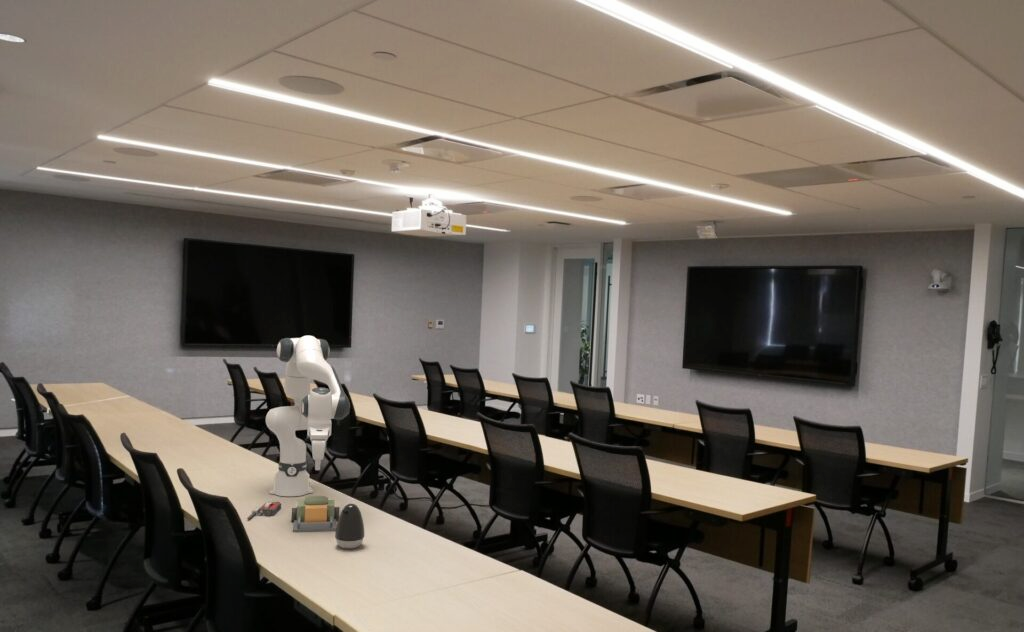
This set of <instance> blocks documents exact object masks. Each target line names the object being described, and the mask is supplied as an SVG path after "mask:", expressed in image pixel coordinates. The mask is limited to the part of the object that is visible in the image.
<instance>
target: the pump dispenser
mask: <svg viewBox="0 0 1024 632" xmlns="http://www.w3.org/2000/svg"><path fill="white" fill-rule="evenodd" d="M363 519H364V518H363V516H362V512H361V510H360V508H359V507H358V505H357V504H355V503H347V504H346V505H344V507H343V508H342V510H341V512H340V513H339V519H338V520H337V527H336V531H334V533H335V534H334V537H335V542H336V543H337V545H338V546H339V547H340V548H342V549H345V550H351V549H352V550H353V549H356V548H358V547H359V546H361V544H362V543H363V541H364V538H365V534H366V532H365V524H364V520H363Z"/></svg>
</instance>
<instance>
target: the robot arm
mask: <svg viewBox="0 0 1024 632" xmlns="http://www.w3.org/2000/svg"><path fill="white" fill-rule="evenodd" d="M276 355H277V357H278V360H279V361H280V362H282V363H283V362H284V363H286V366H285V373H284V385H283V391H284V393H285V395H286V396H288V397H289V398H290V399H293V400H294V405H290V406H289V405H287V406H278V407H274V408H271V409H269V411H268V412H267V413H266V416H265V425H266V426H267V428H268V429H269V430H270V431H271V432H272V433H274V435H275V436H276V438H277V440H278V441H279V442H278V443H279V461H278V468H277V469H278V471H277V472H276V473H275V474H274V478H273V479H274V481H273V487H272V488H271V489H270V490H269V492H268V493H269V494H271V495H276V496H278V497H279V496H280V497H300V496H304V495H307V494H313V493H314V489H313V488H312V487H311V485H310V484H311V483H310V473H309V472H308V471H307V467H308V466H307V459H306V458H307V445H306V443H305V441H304V440H303V439H301V438H299V437H297V435H296V431H305V430H307V434H306V435H307V436H308V437H309V439H310V442H311V449H312V450H311V454H312V460H314V469H315V471H320V470H321V462H322V460H324V457H325V450H326V446H327V445H326V444H327V441H328V439H329V438H330V436H332V424H333V423H332V420H343V419H344V418H345V417H347V416H348V415H349V413H350V410H351V403H350V399H349V398H348V396H347V394H346V393H345V391H344V388H343V387H342V383H341V381H340V378H339V375H338V374H337V372H336V370H335V368H334V367H333V366H332V365H331V364H329V363H328V362H327V360H328V359H329V355H330V345H329V343H328V341H327V340H326V339H323V338H316V337H315V336H314V335H303V336H301V337H291V338H290V337H285V338H281V339H280V340H279V341H278V343H277V347H276ZM311 380H314V381H318V382H322V383H323V384H325V385H327V386H328V388H326V387H319V386H318V387H315V388H311Z"/></svg>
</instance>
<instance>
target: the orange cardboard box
mask: <svg viewBox="0 0 1024 632" xmlns="http://www.w3.org/2000/svg"><path fill="white" fill-rule="evenodd" d="M327 517H328V508H327V505H306V506H305V523H314V522H327Z"/></svg>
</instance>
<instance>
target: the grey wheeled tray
mask: <svg viewBox="0 0 1024 632" xmlns="http://www.w3.org/2000/svg"><path fill="white" fill-rule="evenodd" d="M306 505H327V508H328V517H327V522H314V523H305V506H306ZM339 517H340V506H336V505H335V499H329V498H328V497H327V496H324V495H312V496H307V497H305V498H304V499H302V500H301V499H299V500H297V505H296V507H291V519H290V520H291V522H293V525H292V533H308V532H309V533H316V532H336V527H337V523H338V519H339Z"/></svg>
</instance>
